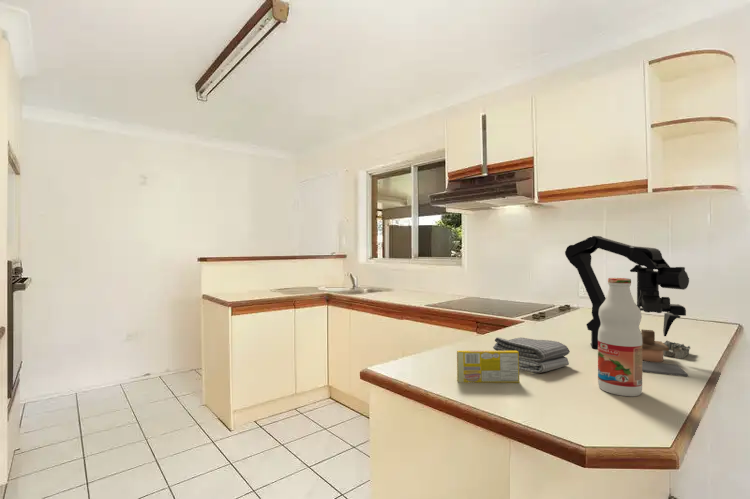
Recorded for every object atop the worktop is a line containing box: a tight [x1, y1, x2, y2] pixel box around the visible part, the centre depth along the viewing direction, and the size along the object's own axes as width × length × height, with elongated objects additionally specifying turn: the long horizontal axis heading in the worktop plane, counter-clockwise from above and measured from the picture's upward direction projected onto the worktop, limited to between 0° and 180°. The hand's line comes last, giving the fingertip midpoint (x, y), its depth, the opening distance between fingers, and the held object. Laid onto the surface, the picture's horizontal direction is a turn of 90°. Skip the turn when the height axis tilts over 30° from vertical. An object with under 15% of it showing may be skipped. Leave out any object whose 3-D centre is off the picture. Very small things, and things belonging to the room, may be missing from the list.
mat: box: [642, 360, 689, 377], centre depth 114 cm, size 11×10×1 cm
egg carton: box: [663, 340, 691, 359], centre depth 130 cm, size 11×8×4 cm
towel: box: [492, 337, 570, 374], centre depth 119 cm, size 15×18×8 cm
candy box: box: [456, 350, 520, 384], centre depth 103 cm, size 16×2×8 cm, turn 89°
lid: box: [640, 328, 669, 351], centre depth 125 cm, size 9×9×5 cm
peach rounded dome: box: [642, 349, 664, 363], centre depth 125 cm, size 8×8×4 cm
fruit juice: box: [597, 277, 643, 397], centre depth 97 cm, size 9×9×28 cm
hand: (647, 334), depth 125 cm, fingers open, 9 cm apart
